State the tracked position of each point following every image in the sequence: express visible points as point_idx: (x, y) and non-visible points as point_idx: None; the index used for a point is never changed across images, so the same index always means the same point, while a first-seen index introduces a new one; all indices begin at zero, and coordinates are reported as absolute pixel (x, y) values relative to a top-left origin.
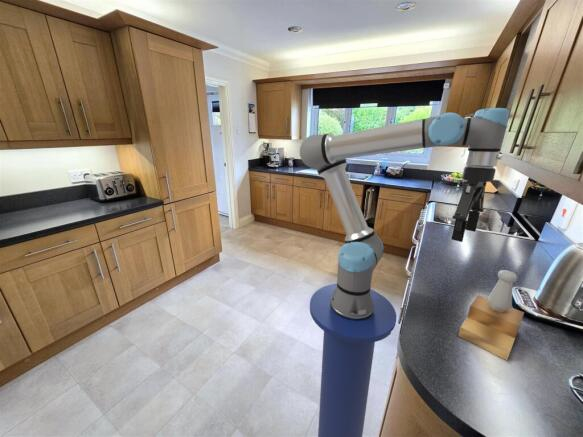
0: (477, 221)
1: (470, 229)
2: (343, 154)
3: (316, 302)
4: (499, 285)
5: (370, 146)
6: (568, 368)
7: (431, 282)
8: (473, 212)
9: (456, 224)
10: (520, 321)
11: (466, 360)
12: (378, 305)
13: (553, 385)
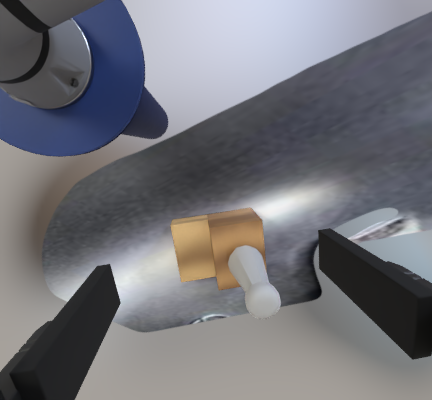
0: (359, 305)
1: (323, 253)
2: None
3: None
4: (244, 281)
5: None
6: (232, 310)
7: (298, 107)
8: (410, 319)
9: (10, 362)
10: (232, 287)
11: (133, 247)
12: (104, 94)
13: (186, 309)
